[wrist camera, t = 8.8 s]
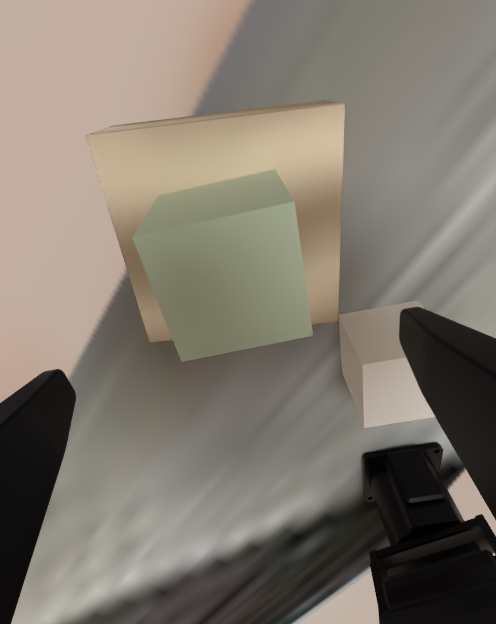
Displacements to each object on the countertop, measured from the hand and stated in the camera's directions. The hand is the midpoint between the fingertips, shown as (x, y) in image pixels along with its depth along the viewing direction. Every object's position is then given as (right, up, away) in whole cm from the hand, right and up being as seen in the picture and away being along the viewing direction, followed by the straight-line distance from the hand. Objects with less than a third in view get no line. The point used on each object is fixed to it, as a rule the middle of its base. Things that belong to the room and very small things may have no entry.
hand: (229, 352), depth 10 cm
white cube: (+9, -1, +15) cm, 18 cm away
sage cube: (0, +4, +7) cm, 8 cm away
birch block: (-1, +6, +10) cm, 12 cm away
